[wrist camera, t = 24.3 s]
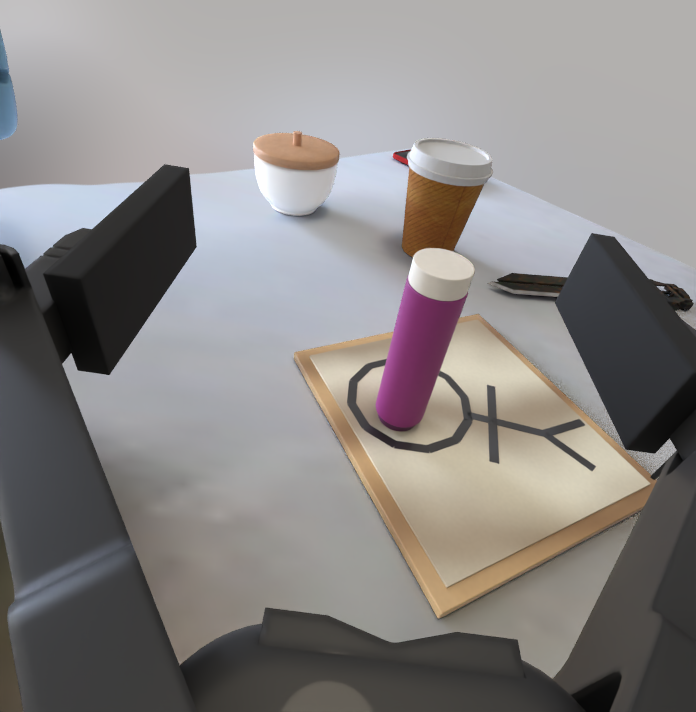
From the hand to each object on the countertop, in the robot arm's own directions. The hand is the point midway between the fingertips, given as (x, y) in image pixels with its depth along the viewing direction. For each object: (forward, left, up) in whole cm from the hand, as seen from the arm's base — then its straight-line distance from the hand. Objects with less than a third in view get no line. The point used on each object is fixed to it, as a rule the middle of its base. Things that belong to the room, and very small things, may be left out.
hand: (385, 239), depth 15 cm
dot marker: (-6, +8, -18) cm, 21 cm away
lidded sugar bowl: (-44, +14, -19) cm, 50 cm away
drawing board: (-4, +13, -19) cm, 24 cm away
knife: (-15, +40, -19) cm, 47 cm away
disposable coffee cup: (-29, +26, -19) cm, 44 cm away
